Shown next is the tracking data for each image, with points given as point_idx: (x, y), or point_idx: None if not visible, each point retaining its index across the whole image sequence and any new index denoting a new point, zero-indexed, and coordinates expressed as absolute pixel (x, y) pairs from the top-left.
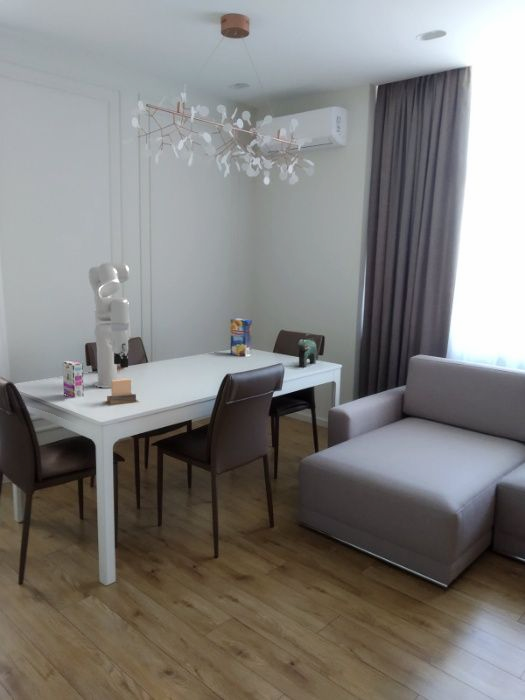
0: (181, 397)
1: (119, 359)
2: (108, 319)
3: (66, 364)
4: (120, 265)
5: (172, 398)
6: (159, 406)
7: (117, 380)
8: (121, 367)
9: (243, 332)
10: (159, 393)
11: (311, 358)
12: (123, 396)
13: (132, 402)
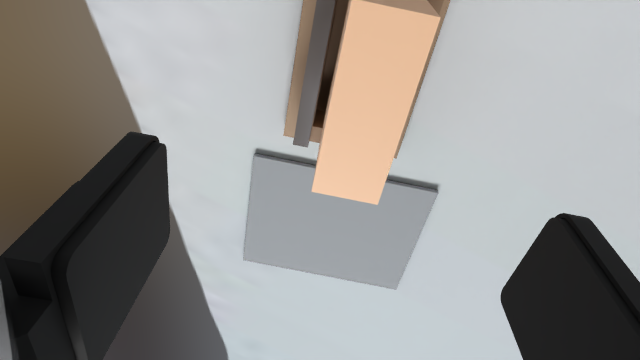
0: (283, 318)
1: (541, 342)
2: None
3: None
4: None
5: (291, 289)
6: (184, 182)
7: (367, 71)
8: (133, 140)
9: None
10: (415, 298)
11: None
12: (309, 50)
13: (298, 95)
